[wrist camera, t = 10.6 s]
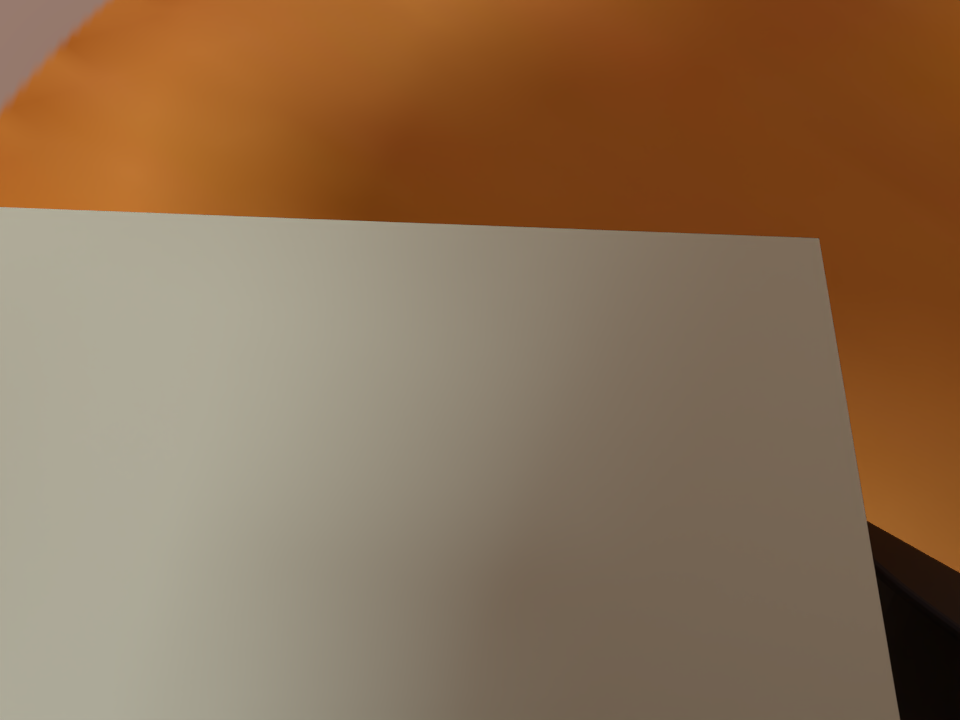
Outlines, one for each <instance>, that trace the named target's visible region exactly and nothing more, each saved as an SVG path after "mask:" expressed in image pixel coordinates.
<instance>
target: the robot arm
mask: <svg viewBox="0 0 960 720" xmlns="http://www.w3.org/2000/svg"><path fill="white" fill-rule="evenodd" d="M867 526H868V532H869V538H870V544H871V550H872V556H873V562H874V568H875V574H876V580H877V586H878V592H879V598H880V604H881V610H882V616H883V622H884V627H885V633H886V639H887V645H888V651H889V657H890V663H891V669H892V675H893V681H894V687H895V693H896V699H897V705H898V711H899V717H900V720H960V573H959V572H957V571H955V570H953V569H952V568H950V567H948V566H946V565H945V564H943V563H941V562H939V561H937V560H936V559H934V558H932V557H930V556H929V555H927V554H925V553H923V552H921V551H920V550H918V549H916V548H914V547H912V546H911V545H909V544H907V543H905V542H904V541H902V540H900V539H898V538H896V537H895V536H893V535H891V534H889V533H888V532H886V531H884V530H882V529H880V528H879V527H877V526H875V525H873V524H871V523H870V522H868V521H867Z"/></svg>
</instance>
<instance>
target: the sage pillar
mask: <svg viewBox="0 0 960 720" xmlns="http://www.w3.org/2000/svg"><path fill="white" fill-rule="evenodd" d="M0 720H900V717H899V711H898V705H897V699H896V693H895V687H894V681H893V675H892V669H891V663H890V657H889V651H888V645H887V639H886V633H885V627H884V622H883V616H882V610H881V604H880V598H879V592H878V586H877V580H876V574H875V568H874V562H873V556H872V550H871V544H870V538H869V532H868V526H867V521H866V515H865V509H864V503H863V497H862V491H861V485H860V479H859V473H858V467H857V461H856V455H855V449H854V443H853V437H852V431H851V425H850V419H849V414H848V408H847V402H846V396H845V390H844V384H843V378H842V372H841V366H840V360H839V354H838V348H837V342H836V336H835V330H834V324H833V318H832V313H831V307H830V301H829V295H828V289H827V283H826V277H825V271H824V265H823V259H822V253H821V247H820V241H819V238H800V237H773V236H747V235H721V234H694V233H668V232H641V231H615V230H588V229H562V228H536V227H509V226H483V225H456V224H430V223H403V222H377V221H351V220H324V219H298V218H271V217H245V216H218V215H192V214H166V213H139V212H113V211H86V210H60V209H33V208H7V207H0Z"/></svg>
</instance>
